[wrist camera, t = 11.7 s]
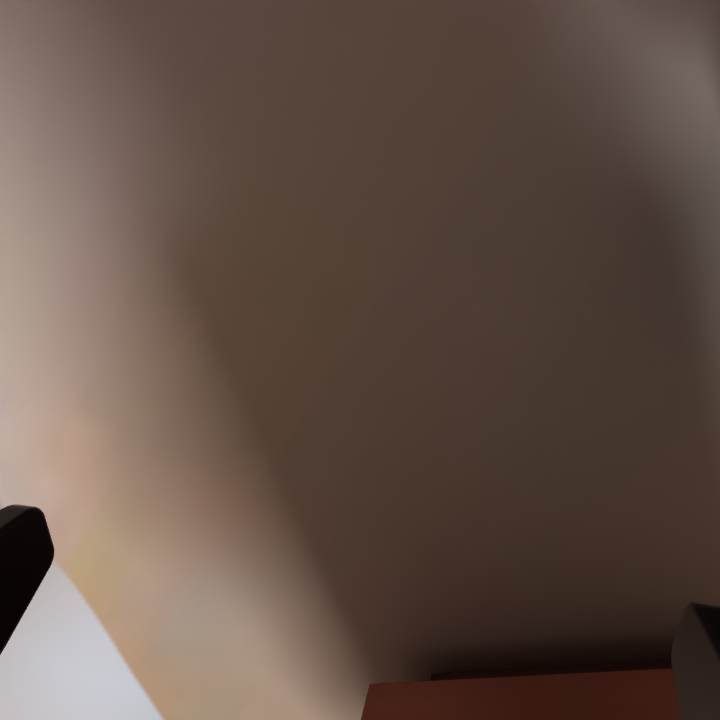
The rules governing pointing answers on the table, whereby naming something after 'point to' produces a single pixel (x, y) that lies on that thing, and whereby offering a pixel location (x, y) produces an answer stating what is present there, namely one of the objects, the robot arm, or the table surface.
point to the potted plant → (533, 694)
